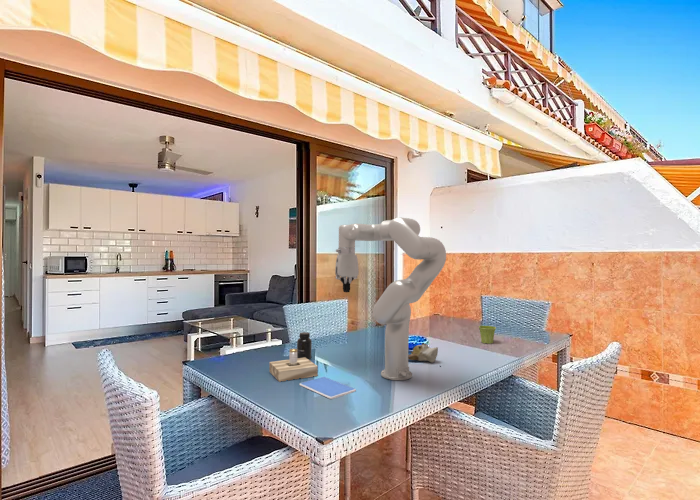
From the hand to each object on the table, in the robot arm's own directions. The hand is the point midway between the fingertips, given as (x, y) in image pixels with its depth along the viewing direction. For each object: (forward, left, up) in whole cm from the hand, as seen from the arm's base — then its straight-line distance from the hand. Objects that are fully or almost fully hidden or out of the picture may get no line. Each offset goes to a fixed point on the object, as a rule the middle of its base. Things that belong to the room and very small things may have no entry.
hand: (346, 291), depth 176 cm
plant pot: (-1, -88, -32) cm, 94 cm away
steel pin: (-5, +27, -32) cm, 42 cm away
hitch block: (-5, +27, -32) cm, 42 cm away
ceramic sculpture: (-13, -33, -32) cm, 48 cm away
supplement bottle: (+14, +15, -32) cm, 38 cm away
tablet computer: (-26, +21, -33) cm, 47 cm away
